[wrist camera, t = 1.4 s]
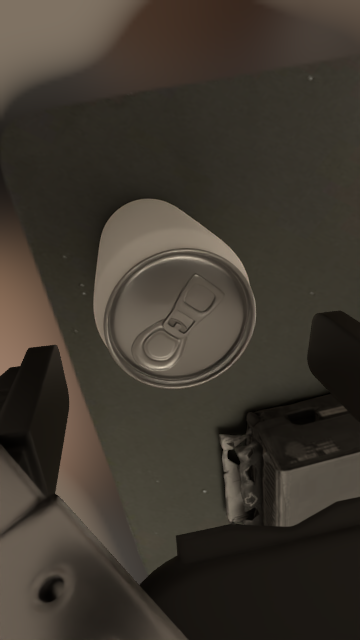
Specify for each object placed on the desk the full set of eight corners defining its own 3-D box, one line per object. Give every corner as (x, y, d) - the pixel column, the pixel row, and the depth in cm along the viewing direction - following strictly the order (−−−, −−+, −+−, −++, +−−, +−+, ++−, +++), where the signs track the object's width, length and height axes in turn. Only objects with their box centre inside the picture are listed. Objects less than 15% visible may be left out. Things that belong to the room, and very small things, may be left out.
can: (80, 259, 22) (54, 351, 12) (136, 175, 21) (164, 192, 10) (159, 309, 25) (196, 421, 14) (214, 236, 23) (301, 302, 13)
